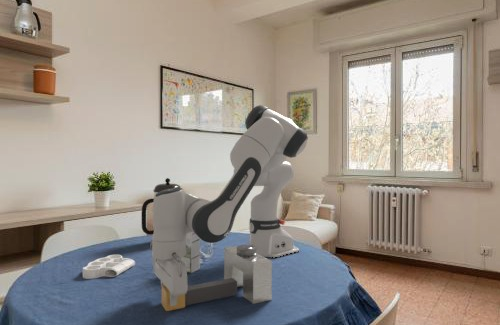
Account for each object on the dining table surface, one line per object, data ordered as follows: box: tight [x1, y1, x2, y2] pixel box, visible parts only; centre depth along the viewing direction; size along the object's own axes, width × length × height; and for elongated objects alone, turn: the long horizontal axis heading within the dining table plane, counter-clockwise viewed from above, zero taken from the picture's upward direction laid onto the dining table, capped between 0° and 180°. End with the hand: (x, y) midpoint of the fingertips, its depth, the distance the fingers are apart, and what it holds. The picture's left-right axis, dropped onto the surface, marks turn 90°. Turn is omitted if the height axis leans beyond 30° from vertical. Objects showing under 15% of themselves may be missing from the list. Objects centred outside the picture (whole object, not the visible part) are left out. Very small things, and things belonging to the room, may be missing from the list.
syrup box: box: [181, 232, 201, 274], centre depth 123 cm, size 6×6×14 cm
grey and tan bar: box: [161, 278, 238, 312], centre depth 97 cm, size 21×5×5 cm, turn 119°
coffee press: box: [141, 177, 181, 235], centre depth 161 cm, size 17×16×30 cm
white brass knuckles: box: [82, 254, 136, 280], centre depth 122 cm, size 3×18×15 cm
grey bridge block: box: [223, 244, 273, 305], centre depth 105 cm, size 6×19×13 cm, turn 29°
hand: (169, 300), depth 93 cm, fingers closed on grey and tan bar, 5 cm apart
